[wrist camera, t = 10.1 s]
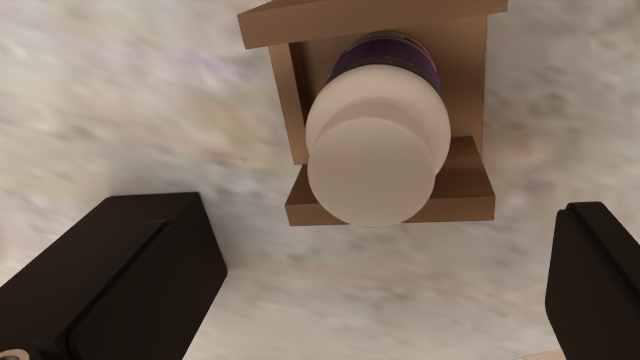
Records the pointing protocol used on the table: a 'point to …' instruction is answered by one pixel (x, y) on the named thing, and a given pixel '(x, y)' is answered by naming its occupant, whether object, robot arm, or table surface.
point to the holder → (328, 45)
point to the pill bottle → (378, 132)
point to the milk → (546, 356)
